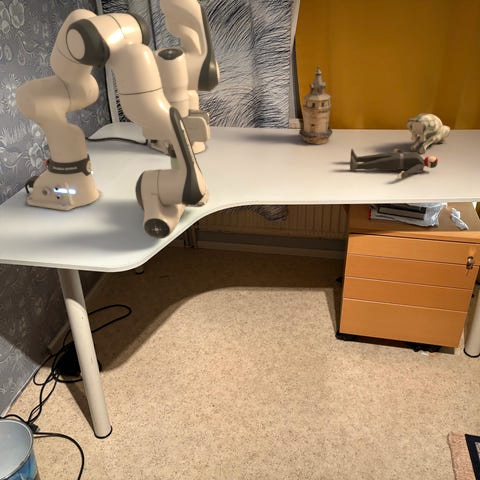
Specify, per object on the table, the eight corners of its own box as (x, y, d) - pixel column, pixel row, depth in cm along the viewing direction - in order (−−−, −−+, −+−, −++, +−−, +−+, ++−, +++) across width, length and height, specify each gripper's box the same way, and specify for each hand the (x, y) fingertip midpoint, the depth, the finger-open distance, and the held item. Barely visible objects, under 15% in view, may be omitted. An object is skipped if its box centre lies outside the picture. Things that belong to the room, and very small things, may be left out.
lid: (171, 150, 165) (170, 143, 164) (189, 151, 165) (189, 143, 163) (166, 157, 160) (165, 149, 159) (185, 158, 160) (184, 150, 158)
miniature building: (320, 132, 228) (325, 59, 214) (338, 142, 217) (344, 66, 203) (293, 137, 224) (296, 63, 209) (310, 147, 213) (314, 69, 198)
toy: (351, 141, 203) (434, 141, 197) (350, 156, 206) (432, 157, 200) (349, 166, 181) (443, 167, 175) (349, 183, 184) (441, 185, 178)
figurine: (436, 165, 204) (461, 137, 213) (424, 121, 195) (451, 94, 204) (414, 164, 211) (439, 137, 220) (401, 122, 202) (428, 96, 211)
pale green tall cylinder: (191, 203, 169) (188, 149, 161) (177, 206, 168) (172, 152, 159) (185, 198, 173) (182, 144, 164) (171, 201, 171) (167, 147, 162)
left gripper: (205, 195, 154) (213, 176, 166) (135, 192, 156) (148, 174, 168) (206, 215, 157) (213, 195, 169) (138, 211, 159) (150, 192, 171)
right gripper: (211, 107, 156) (213, 152, 163) (145, 104, 160) (149, 148, 167) (206, 113, 151) (208, 159, 158) (137, 110, 155) (142, 155, 161)
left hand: (180, 184), depth 168 cm, fingers closed on pale green tall cylinder, 5 cm apart
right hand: (177, 153), depth 162 cm, fingers closed on lid, 5 cm apart
